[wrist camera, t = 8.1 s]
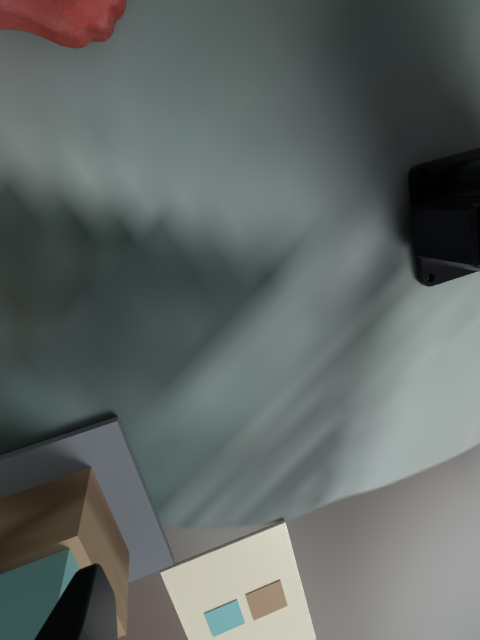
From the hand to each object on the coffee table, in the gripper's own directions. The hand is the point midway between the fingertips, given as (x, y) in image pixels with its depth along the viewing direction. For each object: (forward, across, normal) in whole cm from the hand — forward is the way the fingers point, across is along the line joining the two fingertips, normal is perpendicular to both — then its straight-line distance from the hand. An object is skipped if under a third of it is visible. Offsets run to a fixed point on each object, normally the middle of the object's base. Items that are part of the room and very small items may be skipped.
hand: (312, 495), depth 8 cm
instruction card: (+12, +3, +19) cm, 23 cm away
